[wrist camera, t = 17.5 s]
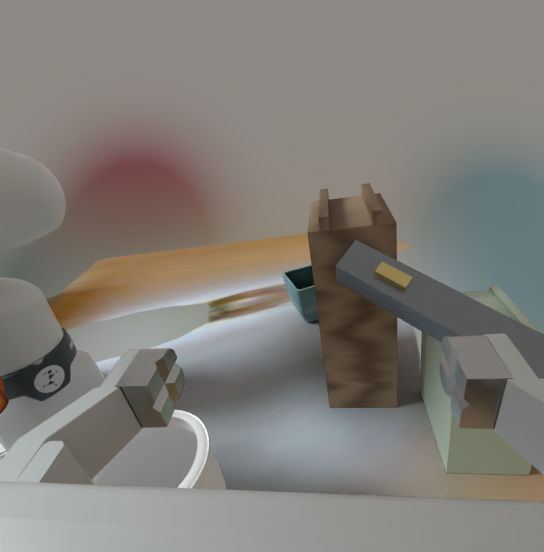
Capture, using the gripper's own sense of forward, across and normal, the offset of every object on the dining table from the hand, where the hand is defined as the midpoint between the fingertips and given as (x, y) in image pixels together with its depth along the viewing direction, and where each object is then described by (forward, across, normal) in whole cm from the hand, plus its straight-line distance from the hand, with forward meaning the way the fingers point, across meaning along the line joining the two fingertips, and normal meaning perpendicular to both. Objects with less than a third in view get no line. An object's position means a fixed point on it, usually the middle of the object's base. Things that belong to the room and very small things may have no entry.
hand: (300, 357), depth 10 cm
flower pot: (+48, +3, +35) cm, 59 cm away
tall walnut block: (+30, -4, +33) cm, 45 cm away
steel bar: (+19, -10, +14) cm, 26 cm away
